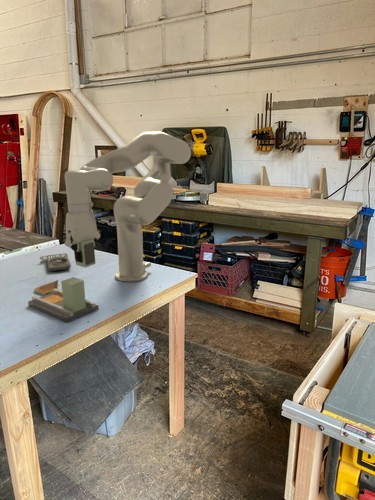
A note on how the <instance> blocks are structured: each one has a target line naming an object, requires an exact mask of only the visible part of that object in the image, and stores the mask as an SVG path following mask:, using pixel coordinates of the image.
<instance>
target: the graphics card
mask: <svg viewBox="0 0 375 500" xmlns="http://www.w3.org/2000/svg"><path fill="white" fill-rule="evenodd" d="M39 260H40V261H39V263H40V264H45V263H46V265H47V269H48V271H50V272H51V271H53V272H54V271H60V272H61V271H64V270H68V269H70V268H71V266H72V265H71V261H70V259H69V256H68V253H58V254H57V253H56V254H50V255H49V254H48V255H42V256H41V257H39Z"/></svg>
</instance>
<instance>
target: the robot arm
mask: <svg viewBox="0 0 375 500" xmlns="http://www.w3.org/2000/svg"><path fill="white" fill-rule="evenodd" d="M151 156H152V158H153V159H152V161H153V164H152V168H151V169H150V170H149V171H148V173H147V174H146V175H145V176H143V178H142V179H141V180H140V181H138V183H137V184H136V186H135V187H134V189H133V196H129V195H123V196H122V197H119V198H117V199H116V201H114V205H113V215H114V220H115V225H116V233H117V234H116V235H117V255H118V271H117V272H115V274H114V275H115V276H114V277H115V279H116V280H118V281H121V282H126V283H127V282H129V283H131V282H139V281H142V280H143V281H144V280H145V279H146V278H147V277H148V272H147V271H146V269H147V268H150V267H152V263H151V262H150V261H149V262H145V263H144V251H143V250H144V248H143V247H144V245H143V243H144V242H143V239H144V237H143V229H142V226H148V225H150V224H152V223H153V222H154V221H156V219H157V218H158V217H159V216H160V215H161V213H162V212H163V211H165V209H166V208H167V207H168V206H169V204H170V203H171V201H172V199H173V194H174V190H173V187H172V184H171V183H170V180H171V178H172V177H171V176H172V175H171V166H170V165H171V164H173V165H174V164H178V165H182V164H183V165H184V164H186V163H187V162H188V161H189V160H190V158H191V156H192V150H191V147H190V145H189V144H188V143H187V142H186V141H185V140H183V139H179V138H178V137H175V136H173V135H171V134H168V133H165V132H163V131H144V132H141V133H140V134H137V136H135V137H133V138H132V139H130V140H129V141H127V142H126V143H125V144H123V145H122V146H120V147H118V148H116V149H114V150H111V151H109V152H107V153H104V154H102V155H100V156H97V157H96V158H93V159H91V160H90V161H89V162H87V163H86V164H84V165H82V166H81V167H80V168H79V169H73V170H72V169H71V170H67V171H66V172H65V173H64V183H65V191H66V192H65V193H66V200H67V201H66V202H67V209H68V212H67V213H66V216H65V237H66V238H65V242H64V245H65V247H68V248H70V249H71V250H72V251H73V253H74V261H75V260H76V261H77V262H80V263H81V262H83V260H82V251H80V246H81V242H83V241H86V240H90V239H93V243H94V248H95V247H96V243H97V241H98V240H99V239H100V237H101V234H100V233H99V231H98V227H97V221H96V216H95V213H94V210H93V209H92V208H93V206H94V203H93V201H92V199H91V198H92V197H91V192H95V191H96V192H102V191H107V190H109V189H110V188H111V187H112V186H113V184H114V176H113V174H115V173H121V172H122V173H124V172H126V171H130V170H132V169H135V167H136V166H138V165H139V164H140V163H142V162H144V161H145V160H147V159H148V158H149V157H151ZM76 244H77V247H76ZM76 261H75V262H76Z"/></svg>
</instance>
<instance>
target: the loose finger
mask: <svg viewBox="0 0 375 500" xmlns="http://www.w3.org/2000/svg"><path fill="white" fill-rule="evenodd" d="M76 247H77V244H76ZM80 251H82V260H83V262H81V263H80V262H77V261H76V260H75V259H74V261H75V265H76V266H79V267H83V268H87V267H91V266H93V265H96V257H95V256H96V255H95V254H96V253H95V247H94V243H93V239H90V240H86V241H83V242H81V246H80Z"/></svg>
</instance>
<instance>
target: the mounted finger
mask: <svg viewBox="0 0 375 500" xmlns="http://www.w3.org/2000/svg"><path fill="white" fill-rule="evenodd" d="M60 283H61V291H62V295H63V306H64V308H66V309H68V310H70V311H73V312H77V311H79V310H81V309H84V308H86V303H85V300H86V293H85V291H86V289H85V280H83V279H80V278H78V277H73V276H71V277H70V278H66V279H64V280H61V281H60Z"/></svg>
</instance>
